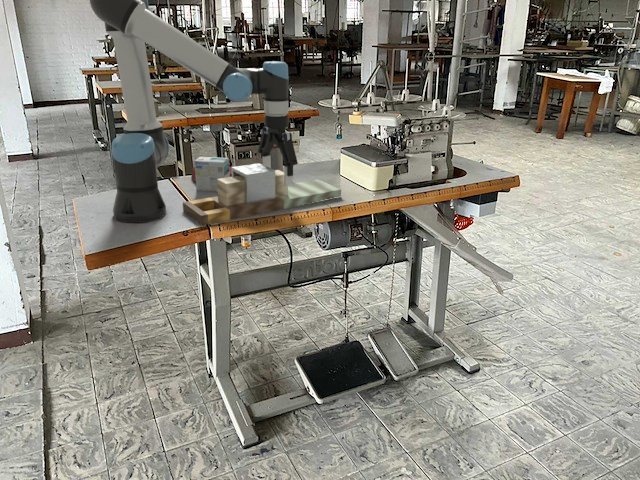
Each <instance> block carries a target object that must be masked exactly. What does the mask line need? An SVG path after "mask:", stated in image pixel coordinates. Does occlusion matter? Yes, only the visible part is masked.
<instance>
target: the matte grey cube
mask: <svg viewBox="0 0 640 480" xmlns="http://www.w3.org/2000/svg"><path fill="white" fill-rule="evenodd" d="M231 167H232V177H234V176H240V175H242V176H244V177H245V191H246V204H247V205H248V204H253V203H259V202H264V201H270V200H275V170H273V169H271V168H269V167H266V166H264V165H262V163H251V164H245V165H238V166H231Z"/></svg>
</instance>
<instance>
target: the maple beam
mask: <svg viewBox="0 0 640 480" xmlns="http://www.w3.org/2000/svg"><path fill="white" fill-rule="evenodd" d="M217 187H218V191H217V196H218V201H220V202H221V203H223V204H224V205H226V206H230V205H235V204H241V203H246V191H245V177H244V176H242V175H240V176H234V177H227V178H220V179H217ZM284 195H288V186H284V171H283V172H282V171H280V170H275V197H279V196H284Z"/></svg>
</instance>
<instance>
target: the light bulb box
mask: <svg viewBox="0 0 640 480" xmlns="http://www.w3.org/2000/svg"><path fill="white" fill-rule="evenodd" d="M229 158H230V157H217V156H216V157H213V156H199V157H197V159H195V160H194V167H195V176H196V183H195V187H196V189H195V190H196V191H203V192H205V191H206V192H218V187H217V179H220V178H227V177H230V172H229V167H230V159H229Z"/></svg>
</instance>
